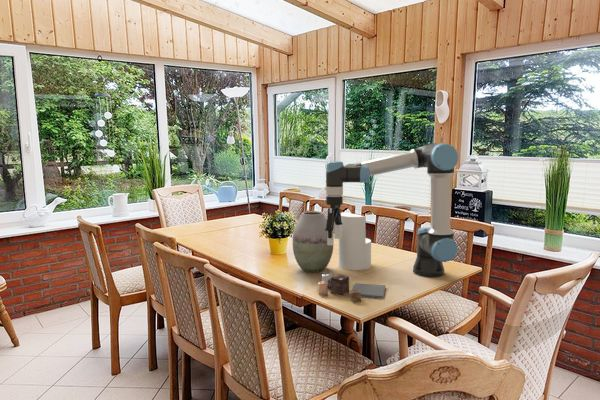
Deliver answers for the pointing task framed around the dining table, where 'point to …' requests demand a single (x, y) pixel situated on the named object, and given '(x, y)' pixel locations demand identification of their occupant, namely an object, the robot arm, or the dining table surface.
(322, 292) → the peach rounded capsule
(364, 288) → the slate board
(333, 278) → the box
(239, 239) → the dining table surface
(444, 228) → the robot arm
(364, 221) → the cylinder
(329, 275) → the metal-capped glass jar
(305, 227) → the vase
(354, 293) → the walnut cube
